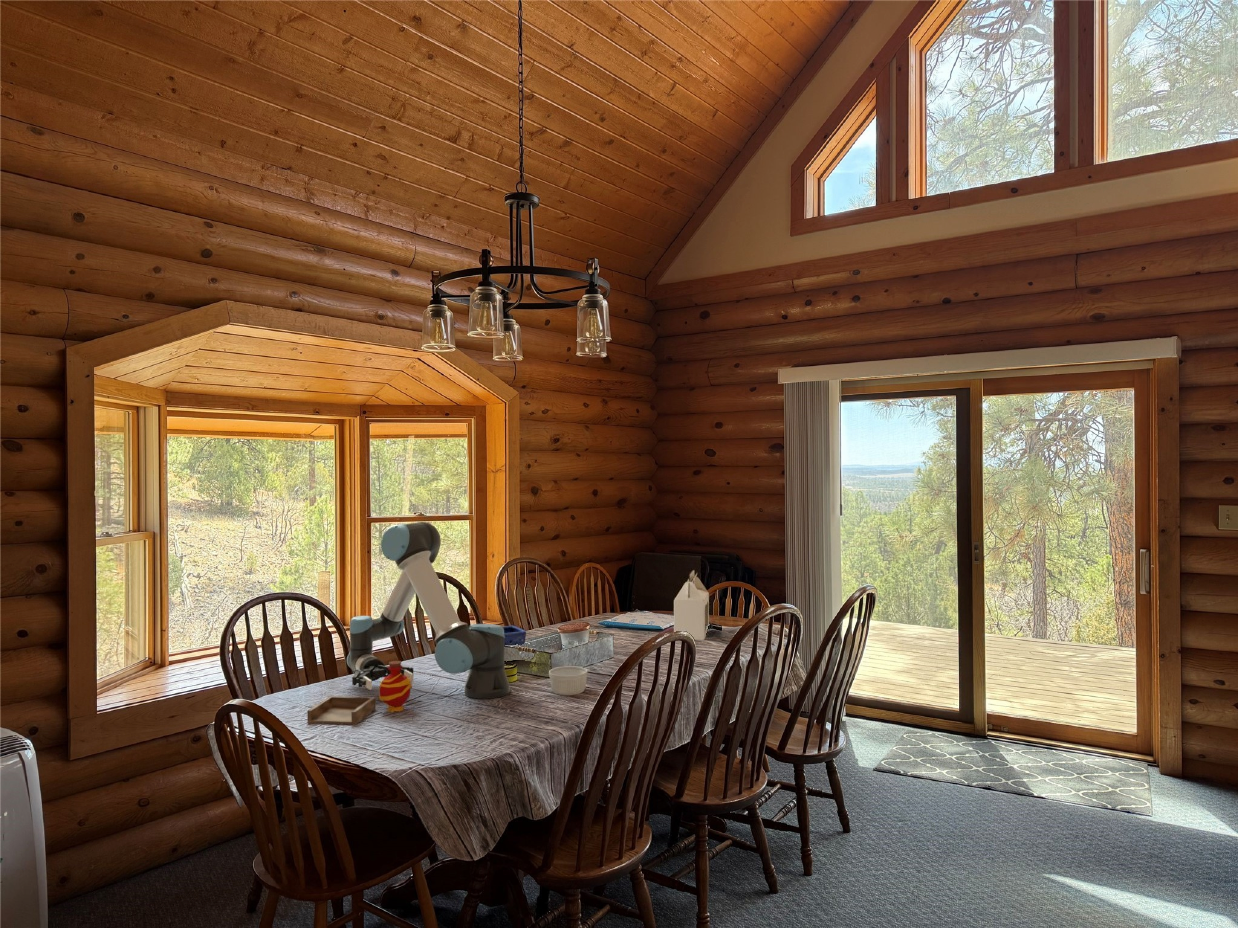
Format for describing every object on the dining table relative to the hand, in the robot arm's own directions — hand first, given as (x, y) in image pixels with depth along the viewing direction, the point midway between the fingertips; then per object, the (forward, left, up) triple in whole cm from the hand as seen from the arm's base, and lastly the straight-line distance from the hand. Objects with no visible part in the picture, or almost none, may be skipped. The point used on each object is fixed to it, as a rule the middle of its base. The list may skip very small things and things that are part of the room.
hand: (391, 681), depth 263 cm
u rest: (+12, +9, -8) cm, 18 cm away
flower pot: (-21, -65, -9) cm, 68 cm away
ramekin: (-53, -25, -9) cm, 59 cm away
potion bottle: (-2, +1, -9) cm, 9 cm away
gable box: (-93, -118, -9) cm, 151 cm away
